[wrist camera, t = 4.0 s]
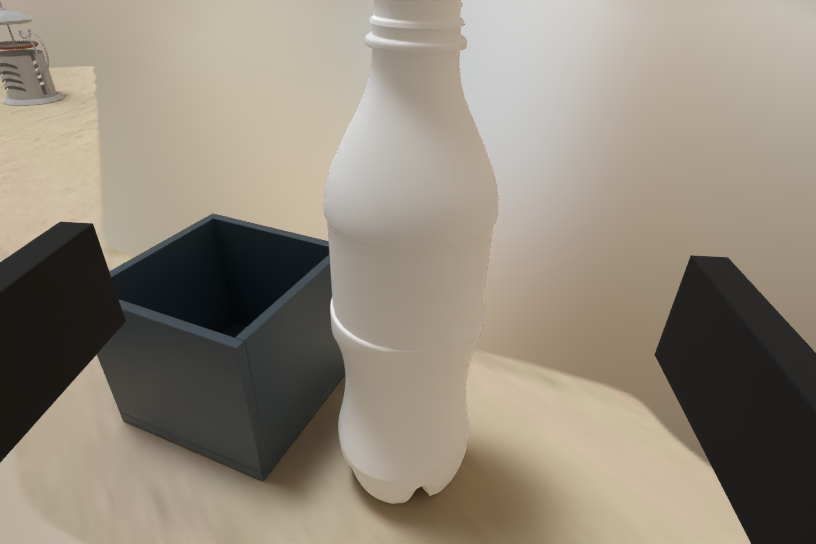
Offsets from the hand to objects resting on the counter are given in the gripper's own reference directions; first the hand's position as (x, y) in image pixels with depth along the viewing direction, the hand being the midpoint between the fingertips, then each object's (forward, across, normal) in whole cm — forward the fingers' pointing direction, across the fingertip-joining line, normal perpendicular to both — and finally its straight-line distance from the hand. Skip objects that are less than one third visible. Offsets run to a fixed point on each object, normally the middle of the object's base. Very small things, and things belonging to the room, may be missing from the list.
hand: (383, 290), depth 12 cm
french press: (+84, -76, -18) cm, 115 cm away
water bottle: (+10, 0, -19) cm, 21 cm away
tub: (+15, -11, -19) cm, 26 cm away
